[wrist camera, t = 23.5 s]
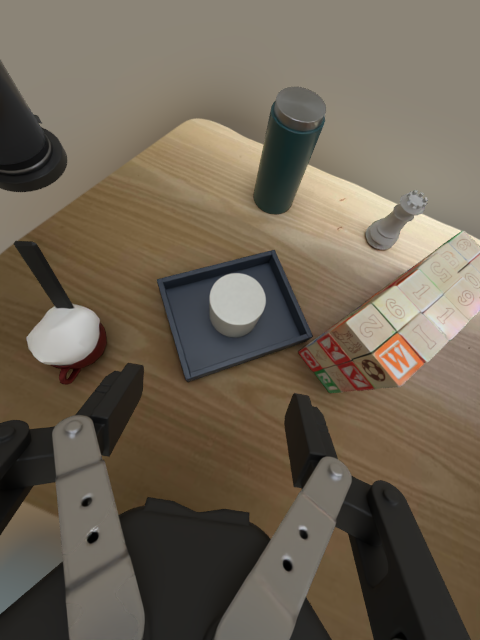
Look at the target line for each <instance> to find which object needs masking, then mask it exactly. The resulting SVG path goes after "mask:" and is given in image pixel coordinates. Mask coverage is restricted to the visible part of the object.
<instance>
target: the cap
mask: <svg viewBox="0 0 480 640" xmlns="http://www.w3.org/2000/svg"><path fill="white" fill-rule="evenodd" d="M265 304H266V297H265V293H264V290H263V288H262V287H261V285H260V284H259V283H258V282H257V281H256V280H255V279H254V278H252V277H250V276H248V275H245V274H240V273H232V274H228V275H225V276H223V277H221V278H220V279H219V280H217V281H216V282H215V284H214V285H213V287H212V289H211V292H210V320H211V323H212V325H213V327H214V328H215V329H216V330H217V331H218V332H219V333H221V334H222V335H225V336H228V337H241V336H244V335H246V334H248V333H249V332H251V331H252V330H253V328H254V327H255V325H256V323H257V322H258V320H259V318H260V316H261V314H262V313H263V311H264V308H265Z"/></svg>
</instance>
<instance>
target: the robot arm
mask: <svg viewBox="0 0 480 640" xmlns="http://www.w3.org/2000/svg"><path fill="white" fill-rule="evenodd" d="M39 123H42V122H41V121H40V119H39V117H38V116H37V115H33V113H32V112H31V110H30V108H29V107H28V105H27V103H26V102H25V100H24V98H23V97H22V95H21V93H20V92H19V90H18V89H17V87H16V85H15V83H14V82H13V80H12V78H11V77H10V75H9V73H8V72H7V70H6V68H5V67H4V65H3V63H2V62H1V60H0V174H2V175H7V176H22V175H27V174H30V173H33V172H36V171H38V170H39V169H41V168H42V167H44V166H45V165H46V164H47V163H48V162H49V160H50V159H51V157H52V153H53V147H52V144H51V142H50V140H49V139H48V137H47V136H46V134H45V133H44V131H43V129H42V128H41V127H40V125H39ZM143 375H144V366H143V365H138V364H132V363H128V364H127V365H126V366H125V367H124V369H123V370H122V371H121V372H119V371H114V372H112V373H111V374H109V375H108V376H106V377H105V378H104V380H103V381H102V382H101V383H100V385H99V386H98V387H97V388H96V390H95V392H93V393H92V395H91V396H90V397H89V398H88V400H87V401H86V402H85V404H84V405H83V406H82V407H81V409H80V410H79V411H78V412H77V414H76V415H75V416H71V417H68V418H66V419H64V420H62V421H61V422H59V423H58V424H57V425H56V426H54V427H48V428H38V429H29V426H28V424H27V423H26V422H24V421H20V420H11V421H6V422H3V423H0V535H1V533H2V532H3V530H4V529H5V527H6V526H7V524H8V523H9V521H10V520H11V518H12V517H13V515H14V514H15V513H16V511H17V510H18V508H19V507H20V505H21V504H22V502H23V501H24V499H25V498H26V496H27V495H28V493H29V492H30V490H31V489H32V487H33V486H34V485H40V484H46V483H52V482H56V490H57V501H58V512H59V522H60V533H61V544H62V555H63V562H62V563H60V564H59V565H58V566H57V567H56V568H54V569H53V570H52V571H51V572H50V573H49V574H47V575H46V576H45V577H44V578H43V579H42V580H40V581H39V582H38V583H37V584H36V585H34V586H33V587H32V588H31V589H30V590H28V591H27V592H26V593H25V594H24V595H22V596H21V597H20V598H19V599H18V600H17V601H16V602H14V603H13V604H12V605H11V606H10V607H8V608H7V609H6V610H5V611H4V612H2V613H1V614H0V640H332V639H331V638H330V636H329V634H328V633H327V631H326V629H325V628H324V626H323V625H322V623H321V621H320V620H319V618H318V616H317V615H316V613H315V611H314V610H313V608H312V606H311V605H310V603H309V601H308V600H307V598H306V595H307V592H308V590H309V588H310V585H311V583H312V580H313V578H314V576H315V573H316V571H317V568H318V566H319V564H320V561H321V559H322V556H323V554H324V552H325V549H326V547H327V544H328V542H329V540H330V537H331V535H332V532H333V530H334V528H335V527H337V528H339V529H341V530H343V531H345V532H347V533H348V535H349V539H350V543H351V547H352V551H353V556H354V560H355V564H356V568H357V572H358V576H359V580H360V584H361V588H362V593H363V597H364V601H365V605H366V609H367V613H368V617H369V621H370V626H371V630H372V634H373V638H374V640H471V639H470V637H469V635H468V633H467V631H466V628H465V626H464V624H463V622H462V620H461V618H460V615H459V613H458V611H457V609H456V607H455V605H454V602H453V600H452V598H451V596H450V594H449V592H448V589H447V587H446V585H445V583H444V581H443V579H442V576H441V574H440V572H439V570H438V568H437V566H436V564H435V561H434V559H433V557H432V555H431V553H430V551H429V548H428V546H427V544H426V542H425V540H424V538H423V535H422V533H421V531H420V529H419V527H418V525H417V522H416V520H415V518H414V516H413V514H412V512H411V509H410V507H409V505H408V503H407V501H406V499H405V497H404V496H403V495H402V493H401V492H400V491H399V490H398V489H397V488H396V487H394V486H393V485H391V484H390V483H388V482H385V481H381V480H380V481H376V482H374V483H373V485H372V486H371V485H369V484H367V483H365V482H363V481H361V480H358V479H356V478H355V477H353V476H351V474H350V471H349V470H348V468H347V467H346V466H345V465H344V464H343V463H342V462H341V461H339V460H338V458H337V455H336V452H335V449H334V446H333V443H332V440H331V437H330V434H329V433H328V428H327V426H326V422H325V419H324V416H323V414H322V413H321V412H320V410H319V409H318V408H317V407H313V406H312V405H311V401H310V398H309V396H307V395H302V394H296V393H294V394H293V396H292V398H291V401H290V404H289V406H288V409H287V412H286V415H285V422H284V424H285V432H286V439H287V445H288V452H289V458H290V465H291V472H292V478H293V485H294V487H298V488H302V491H300V493H299V494H298V496H297V498H296V499H295V501H294V502H293V504H292V506H291V507H290V509H289V511H288V512H287V514H286V516H285V517H284V519H283V520H282V522H281V524H280V525H279V527H278V529H277V530H276V532H275V533H274V535H273V537H272V538H271V539H270V538H269V537H268V536H267V535H266V534H265V532H264V531H262V530H261V529H260V528H259V527H257V526H256V525H254V524H253V523H251V522H249V513H248V512H242V511H235V510H229V509H220V510H213V511H206V512H195V511H193V510H191V509H189V508H187V507H185V506H182V505H180V504H178V503H176V502H174V501H169V500H163V499H156V498H150V497H148V498H147V500H146V503H145V506H141V507H137V508H133V509H130V510H128V511H126V512H124V513H122V514H120V515H118V512H117V508H116V504H115V500H114V496H113V492H112V488H111V484H110V480H109V476H108V472H107V468H106V465H105V461H104V460H102V457H101V455H103V456H110V454H111V453H112V451H113V449H114V447H115V445H116V443H117V441H118V440H119V438H120V436H121V434H122V432H123V430H124V428H125V426H126V425H127V423H128V421H129V419H130V417H131V415H132V413H133V412H134V410H135V408H136V406H137V404H138V402H139V400H140V398H141V395H142V391H143Z"/></svg>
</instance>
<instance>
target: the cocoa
mask: <svg viewBox="0 0 480 640" xmlns="http://www.w3.org/2000/svg"><path fill="white" fill-rule="evenodd" d="M14 245H15V247H16V248H17V250H18V251H19V253H20V254H21V256H22V257H23V259H24V260H25V262H26V263H27V265H28V266H29V268H30V269H31V271H32V272H33V274H34V275H35V277H36V278H37V280H38V281H39V283H40V284H41V286H42V287H43V289H44V290H45V292H46V293H47V295H48V297H49V298H50V300H51V301H52V303H53V304H54V307H53V308H51V309H50V310H48V312H47V313H46V315H45V316H44V317H43V319H42V320H41V321H40V322H39V323H38V324H37V325H36V326H35V327H34V329H33V330H32V331H31V332H30V334H29V335H28V336H27V337H26V339H27V343H28V348H29V350H30V351H31V352H32V354H33V356H34V357H35V358H37V359H38V360H39V361H40V362H42V363H44V364H48V365H51V366H53V367H56V368H60V369H61V371H60V375H59V380H60V383H62V384H70V383H72V382H73V381H74V379H75V378H76V377H77V375H78V373H79V372H80V370H81V368H83V367H85V366H88V365H90V364H92V363H94V362H95V361H96V360H97V359H98V358H99V357H100V356H101V355H102V354H103V352H104V349H105V347H106V344H107V341H106V332H105V329H104V327H103V326H102V324H101V323H100V319H99V317H98V316H97V315H96V314H95V313H94V311H92V310H90V309H88V308H86V307H83V306H80V305H76V304H72V303H71V301H70V300H69V298H68V296H67V294H66V293H65V291H64V289H63V288H62V286H61V284H60V283H59V281H58V279H57V277H56V276H55V274H54V272H53V271H52V269H51V267H50V266H49V264H48V262H47V260H46V259H45V257H44V255H43V254H42V252H41V250H40V249H39V247H38V245H37V244H36V243H35V242H28V241H15V242H14ZM69 369H73V372H72V373H71V375H70V376H69V378H68V379H67V378H66V376H67V372H68V370H69Z"/></svg>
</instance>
